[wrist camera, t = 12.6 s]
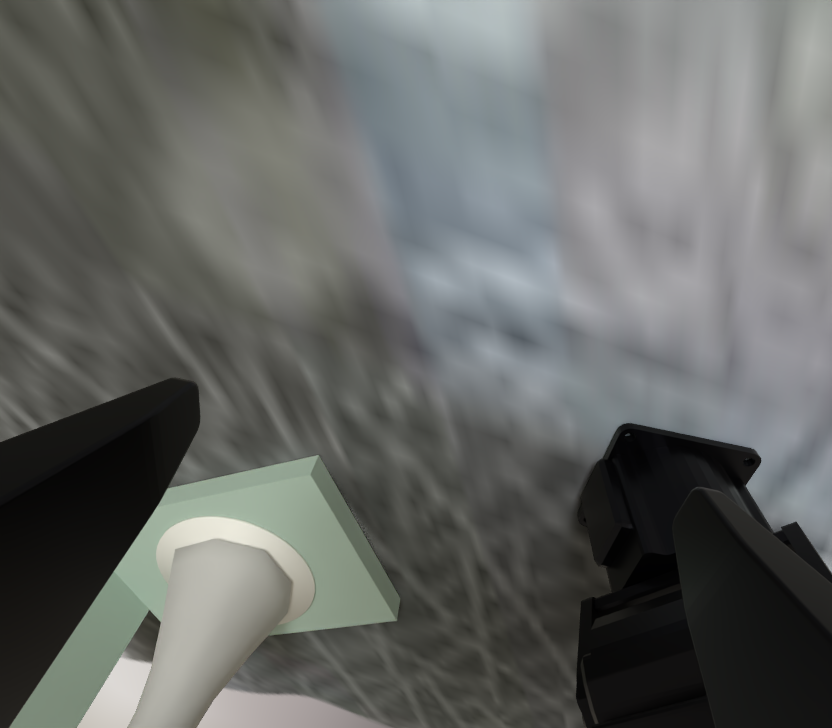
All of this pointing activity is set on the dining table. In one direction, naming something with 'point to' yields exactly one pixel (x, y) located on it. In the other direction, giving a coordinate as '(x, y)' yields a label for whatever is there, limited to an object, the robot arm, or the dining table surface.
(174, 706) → the flask
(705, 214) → the dining table surface
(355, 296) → the dining table surface
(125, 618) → the bench press
